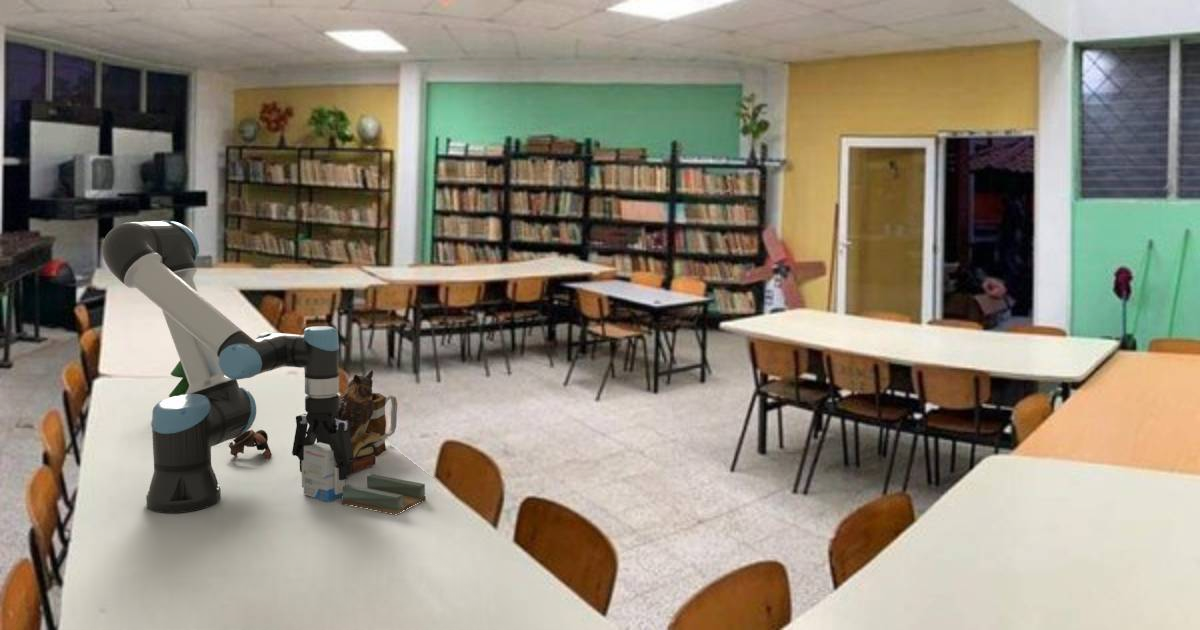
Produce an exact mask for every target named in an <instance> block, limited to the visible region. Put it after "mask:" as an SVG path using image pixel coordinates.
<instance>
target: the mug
mask: <svg viewBox="0 0 1200 630" xmlns="http://www.w3.org/2000/svg"><path fill="white" fill-rule="evenodd" d="M343 396H344V393H343V394H340V395H339V401H340V399H342V397H343ZM372 400H373V403H374V410H373V415H372V416H371V418H370V420H369V424H368V427H367V429H366V430H367V431H370V432H375V433H378V434H380V436H381V439H382V440H381V441H378V442H376V443H374V445H375V447H376V453H375V454H374V455H375V457H378V456H380V455H382V454H383V453H386V451H387V447H386V437H391V436H392V435H394V434H395V431H396V429H397V420H398V419H397V417H398V416H397V414H398V401H397V397H396V396H395V395H392V394H386V395H383V394H381V393H380V392H379V393H378V392H372ZM389 400H390V402H391V408H390V427H389V430H388V431H386V426H387V423H386V422H387V421H386V404H387V403H388V401H389Z"/></svg>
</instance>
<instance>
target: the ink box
mask: <svg viewBox="0 0 1200 630" xmlns="http://www.w3.org/2000/svg"><path fill="white" fill-rule="evenodd" d="M341 461H342V459H341ZM335 466H337V463H336V460H335V458H334V451H332V450H331V448H330V445H328V444H324V443H320V442H319V443H317V442H315V443H314V444H312V445H308V446H304V488H303V495H304V494H305V495H304V496H307V495H308V497H310V496H311V498H314V499H317V498H318V500H321V501H324V500H325V502H331V501H334V500H336V499H338V498H339V499H340V498H341V497H342V498H343V492H342V493H340V494H338V495H336V494H335V489H334V467H335Z"/></svg>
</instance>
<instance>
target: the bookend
mask: <svg viewBox="0 0 1200 630" xmlns="http://www.w3.org/2000/svg"><path fill="white" fill-rule="evenodd" d="M373 376H374V371H373V370H369V371H367V373H366V374H365V375H358V374H354V376H353V378H352V379H351V380H350V381H349V382H348V385H347V388H346V389H345V391H344V392H343V394H344V396H343V397H342V399H340V401H339V410H338V413H337V415H338V418H339V420H341V421H347V420H348V421H349V422H350V426H349V433H350V438H351V444H352V449H353V454H354V460H355V461H354V463H351V464H349V465H347V477H349V476H351V475H352V473H356V472H358V471H360V470H364V469H367V468H369V467H372V466H375V465H376V463H377V460H376V459H377V458H376V457H377V456H375V455H374V454H375V453H376V447H375V445H374V443H376V442H378V441H381V440H382V439H381V436H380V434H378V433H375V432H370V431H367V430H366V429H367V427H368V424H369V420H370V418H371V416H372V415H373V410H374V403H373V400H372V393H373V379H372V378H373ZM336 427H337V426H336ZM331 434H333V432H332V433H331ZM331 434H330V435H331ZM319 442H320V443H324V444H328V445H329V442H328V440H326V439H325V437H324V435H321V434H318V436H317V438H316V443H319Z"/></svg>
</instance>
